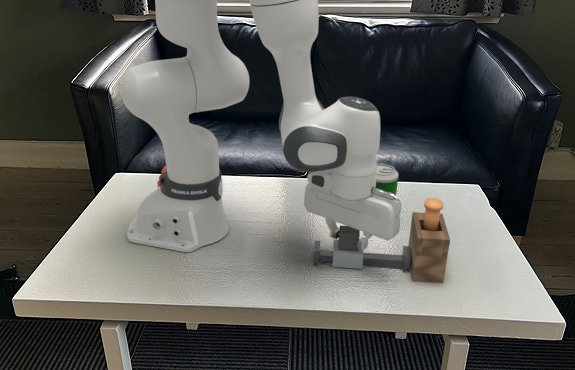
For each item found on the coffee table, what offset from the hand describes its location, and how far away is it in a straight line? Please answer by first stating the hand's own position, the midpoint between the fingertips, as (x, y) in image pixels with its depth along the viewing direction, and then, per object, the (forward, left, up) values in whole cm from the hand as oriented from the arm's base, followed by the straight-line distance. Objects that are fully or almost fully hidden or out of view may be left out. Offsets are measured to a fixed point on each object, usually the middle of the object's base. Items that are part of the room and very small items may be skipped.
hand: (348, 242), depth 114 cm
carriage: (0, 0, -5) cm, 5 cm away
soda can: (+7, +21, -5) cm, 23 cm away
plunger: (+16, 0, +4) cm, 16 cm away
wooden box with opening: (+16, 0, -5) cm, 17 cm away
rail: (+3, 0, -5) cm, 6 cm away
